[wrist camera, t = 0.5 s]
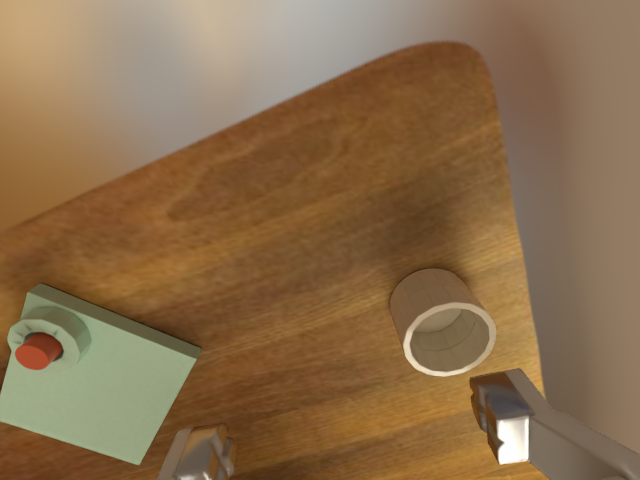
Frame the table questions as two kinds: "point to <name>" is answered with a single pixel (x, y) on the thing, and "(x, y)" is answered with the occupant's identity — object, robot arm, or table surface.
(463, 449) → the table surface
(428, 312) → the beige cup
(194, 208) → the table surface
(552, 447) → the robot arm
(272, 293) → the table surface
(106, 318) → the scale
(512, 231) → the table surface
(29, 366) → the button
